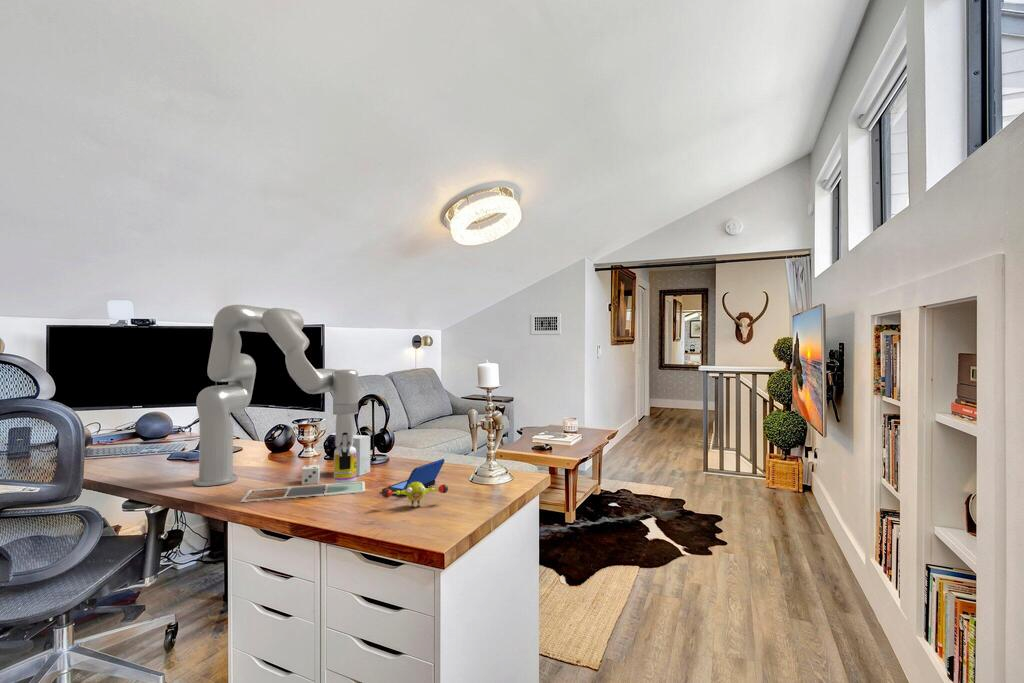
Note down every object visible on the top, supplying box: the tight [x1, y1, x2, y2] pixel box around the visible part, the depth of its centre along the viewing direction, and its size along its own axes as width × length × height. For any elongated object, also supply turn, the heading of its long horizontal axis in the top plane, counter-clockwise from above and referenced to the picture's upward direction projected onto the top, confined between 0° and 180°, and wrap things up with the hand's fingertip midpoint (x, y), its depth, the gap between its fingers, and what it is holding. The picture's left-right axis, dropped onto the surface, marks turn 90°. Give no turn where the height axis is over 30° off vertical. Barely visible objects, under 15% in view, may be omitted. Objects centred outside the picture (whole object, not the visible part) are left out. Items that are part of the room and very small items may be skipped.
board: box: [240, 481, 366, 503], centre depth 149 cm, size 12×34×1 cm, turn 107°
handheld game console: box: [381, 458, 445, 498], centre depth 152 cm, size 16×13×9 cm
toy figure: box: [381, 482, 449, 508], centre depth 135 cm, size 18×6×7 cm, turn 106°
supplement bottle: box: [333, 441, 357, 484], centre depth 153 cm, size 7×7×13 cm
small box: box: [353, 434, 371, 477], centre depth 173 cm, size 8×6×13 cm
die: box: [301, 464, 321, 485], centre depth 161 cm, size 5×5×5 cm
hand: (345, 465), depth 153 cm, fingers closed on supplement bottle, 6 cm apart
